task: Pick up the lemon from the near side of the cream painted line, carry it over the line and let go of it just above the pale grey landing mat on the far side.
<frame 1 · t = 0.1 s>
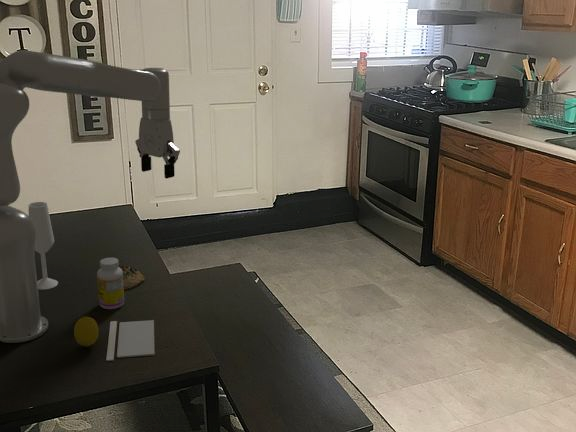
hand: (157, 174, 177), 31 cm above the table, tool pointing down, fingers open, 9 cm apart
landing mat: (136, 338, 152), on the table
lemon: (87, 347, 148), on the table
foul line: (112, 340, 151), on the table
bread roll: (125, 283, 182), on the table
supplement bottle: (111, 305, 168), on the table
champagne flute: (45, 284, 178), on the table
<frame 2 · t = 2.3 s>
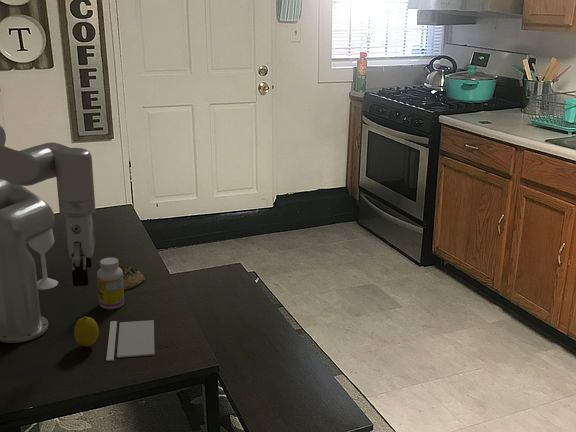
hand: (82, 276, 142), 18 cm above the table, tool pointing down, fingers open, 9 cm apart
nothing on the table moved.
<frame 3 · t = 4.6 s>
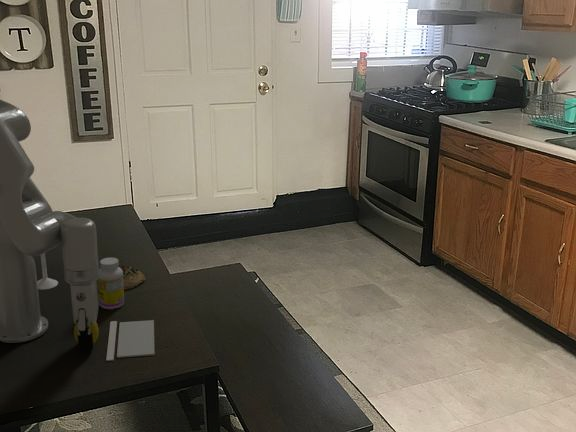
hand: (87, 340, 147), 2 cm above the table, tool pointing down, fingers closed on lemon, 5 cm apart
lemon: (87, 347, 148), on the table, touching gripper
everything else where it was.
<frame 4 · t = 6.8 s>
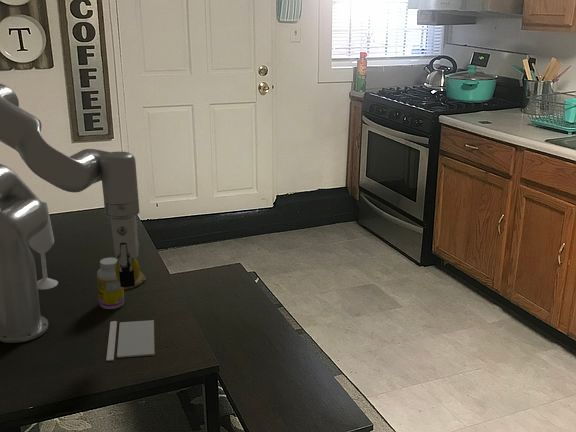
hand: (128, 279, 146), 16 cm above the table, tool pointing down, fingers closed on lemon, 5 cm apart
lemon: (129, 286, 146), point 15 cm above the table, touching gripper
everything else where it was.
when the fingers open (4 cm above the table, at t = 9.2 s): lemon drops 2 cm, resting on landing mat.
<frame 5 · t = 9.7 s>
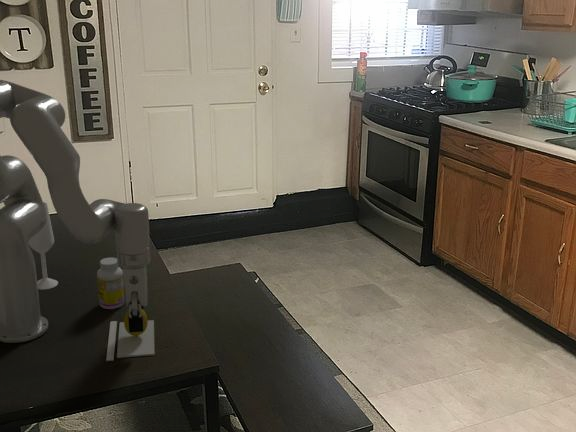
hand: (136, 321, 150), 5 cm above the table, tool pointing down, fingers open, 9 cm apart
lemon: (136, 337, 152), resting on landing mat
everything else where it was.
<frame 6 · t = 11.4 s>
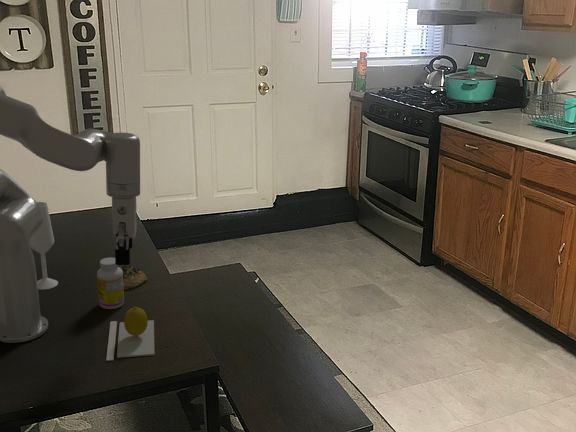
hand: (124, 256, 148), 20 cm above the table, tool pointing down, fingers open, 9 cm apart
nothing on the table moved.
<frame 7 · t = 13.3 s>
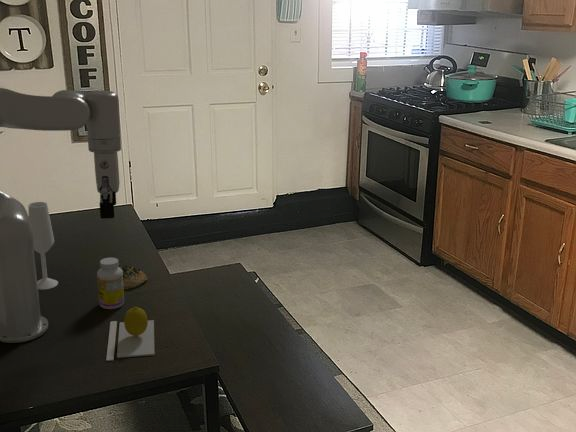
hand: (108, 211, 154), 28 cm above the table, tool pointing down, fingers open, 9 cm apart
nothing on the table moved.
at the end: lemon inside the target area (1.5 cm from its centre), resting on landing mat; the gripper is holding nothing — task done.
